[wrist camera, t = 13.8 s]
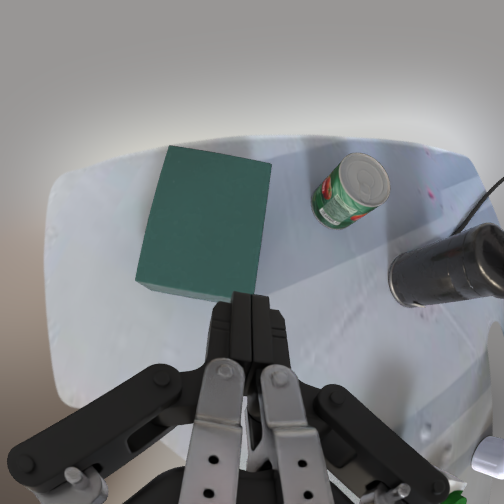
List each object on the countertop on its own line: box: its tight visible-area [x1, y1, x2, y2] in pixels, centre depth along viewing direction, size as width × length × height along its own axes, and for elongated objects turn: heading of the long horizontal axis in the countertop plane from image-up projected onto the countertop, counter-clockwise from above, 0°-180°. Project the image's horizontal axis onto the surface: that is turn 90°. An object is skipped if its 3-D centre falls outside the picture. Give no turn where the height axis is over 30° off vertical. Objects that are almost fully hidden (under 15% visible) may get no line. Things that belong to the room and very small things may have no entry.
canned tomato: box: [311, 153, 390, 230], centre depth 43 cm, size 8×8×11 cm
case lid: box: [135, 145, 272, 299], centre depth 34 cm, size 16×13×1 cm
